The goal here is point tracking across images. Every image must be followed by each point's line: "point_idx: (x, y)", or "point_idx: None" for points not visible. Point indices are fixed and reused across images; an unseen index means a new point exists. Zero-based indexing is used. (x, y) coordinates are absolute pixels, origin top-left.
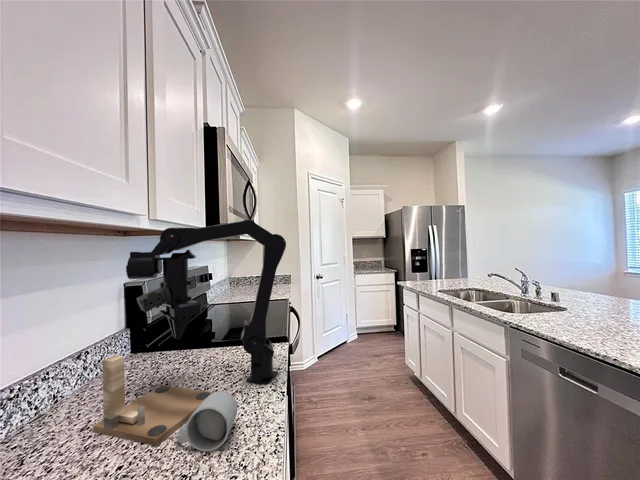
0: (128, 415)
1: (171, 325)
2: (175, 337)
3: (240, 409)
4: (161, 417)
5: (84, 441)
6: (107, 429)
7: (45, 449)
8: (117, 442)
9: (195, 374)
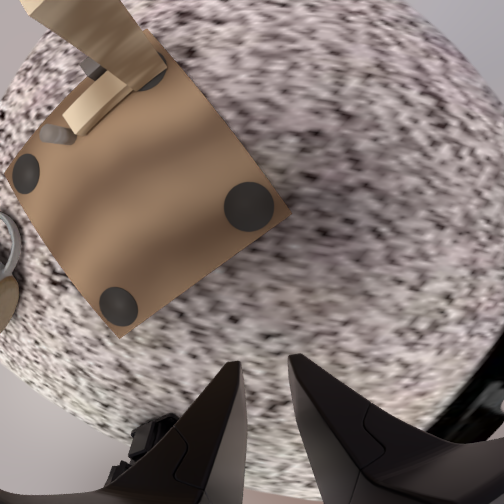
0: (80, 102)
1: (319, 419)
2: (232, 367)
3: (53, 349)
4: (67, 185)
5: None
6: None
7: None
8: (66, 93)
9: (331, 325)
